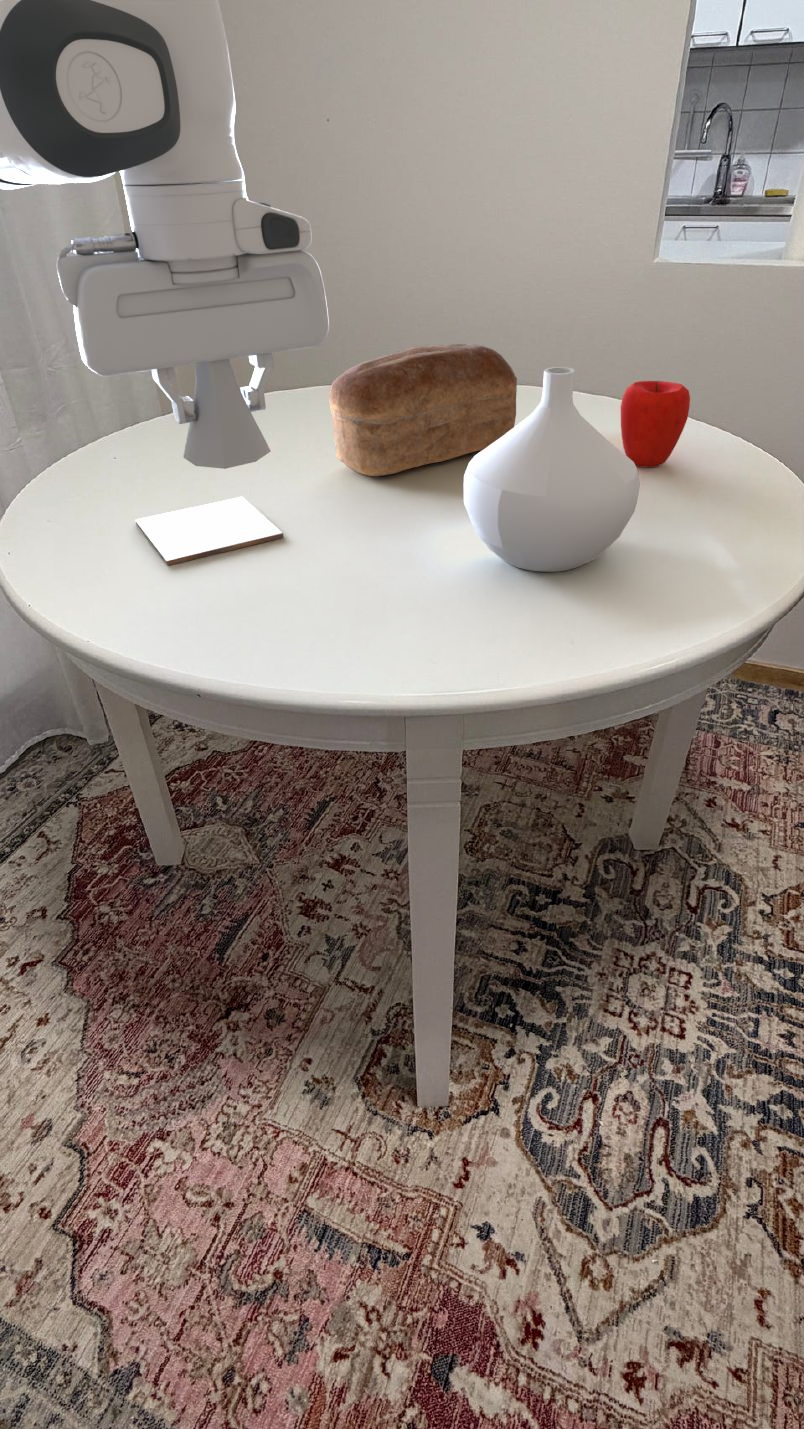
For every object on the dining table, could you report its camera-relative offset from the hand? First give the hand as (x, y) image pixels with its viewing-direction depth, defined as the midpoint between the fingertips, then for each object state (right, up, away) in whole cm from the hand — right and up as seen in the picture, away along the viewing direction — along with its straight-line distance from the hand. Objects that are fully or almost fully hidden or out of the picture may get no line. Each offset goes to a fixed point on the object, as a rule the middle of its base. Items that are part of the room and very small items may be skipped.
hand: (221, 415), depth 69 cm
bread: (+19, +12, +48) cm, 53 cm away
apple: (+50, +9, +43) cm, 66 cm away
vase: (+31, -8, +20) cm, 38 cm away
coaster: (-8, -4, +28) cm, 29 cm away
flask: (0, -3, +2) cm, 4 cm away
